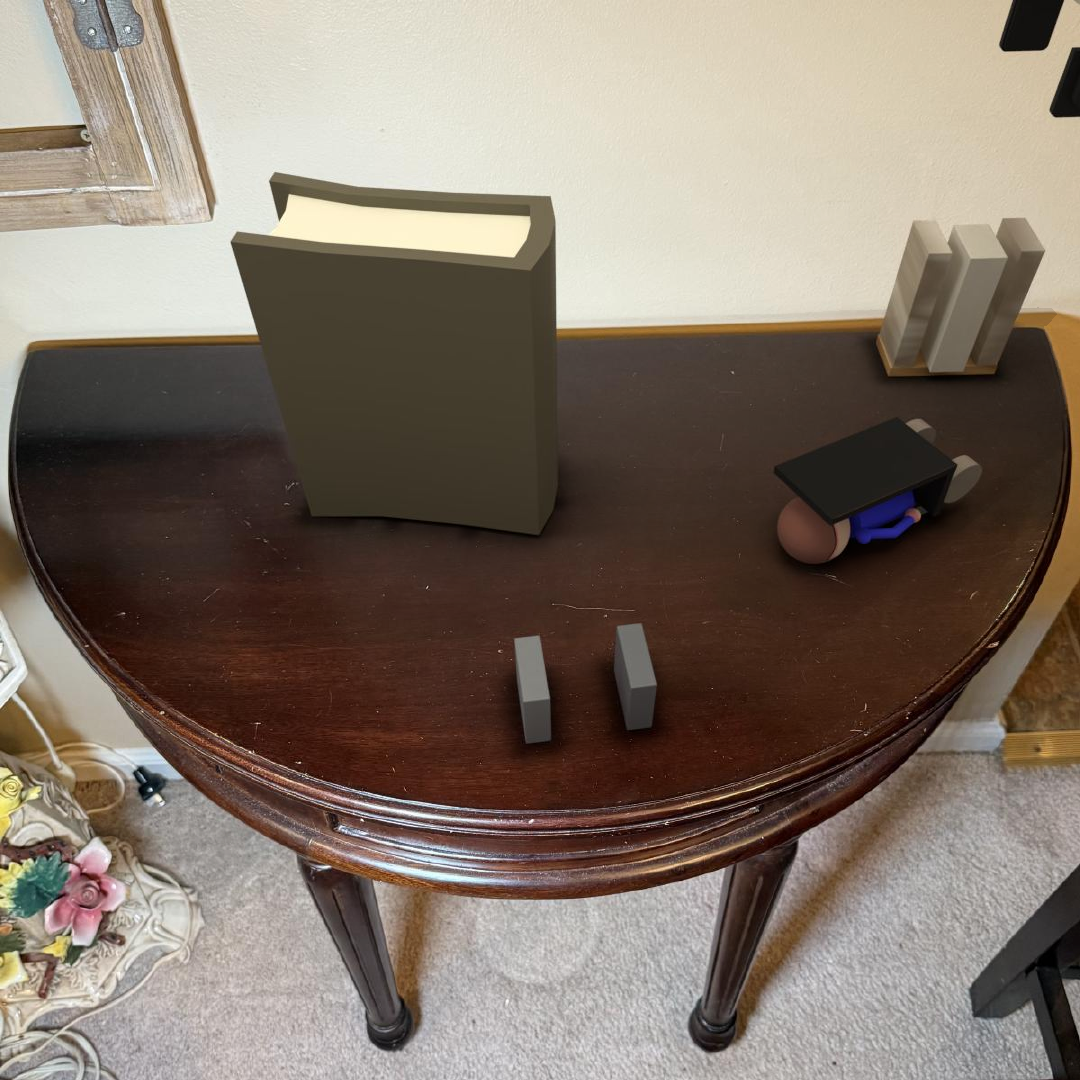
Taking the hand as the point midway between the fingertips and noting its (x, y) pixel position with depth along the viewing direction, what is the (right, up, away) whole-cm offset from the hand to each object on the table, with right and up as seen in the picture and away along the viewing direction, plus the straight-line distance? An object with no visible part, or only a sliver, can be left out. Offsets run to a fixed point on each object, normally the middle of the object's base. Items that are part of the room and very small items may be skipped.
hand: (1047, 80), depth 64 cm
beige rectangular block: (+1, -14, +19) cm, 24 cm away
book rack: (+1, -14, +20) cm, 25 cm away
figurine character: (-9, -29, +8) cm, 32 cm away
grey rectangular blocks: (-30, -41, -1) cm, 51 cm away
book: (-41, -26, +12) cm, 50 cm away
